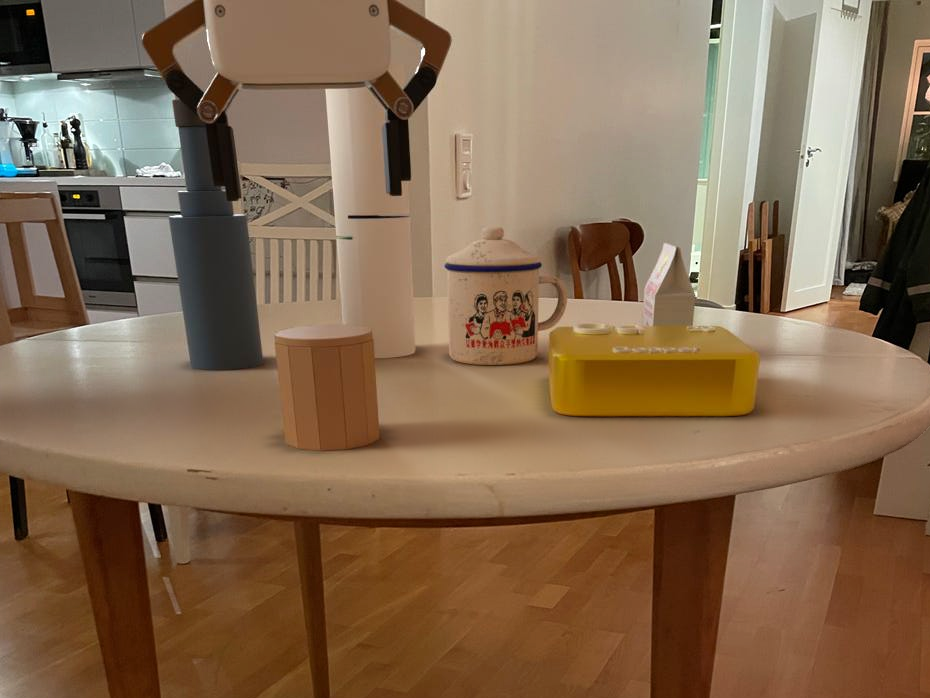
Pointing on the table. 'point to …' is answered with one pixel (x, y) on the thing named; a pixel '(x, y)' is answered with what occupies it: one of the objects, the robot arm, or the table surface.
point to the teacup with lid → (496, 302)
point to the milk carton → (668, 292)
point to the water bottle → (212, 261)
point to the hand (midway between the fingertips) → (315, 198)
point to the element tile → (651, 371)
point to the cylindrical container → (370, 222)
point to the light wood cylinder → (327, 386)
